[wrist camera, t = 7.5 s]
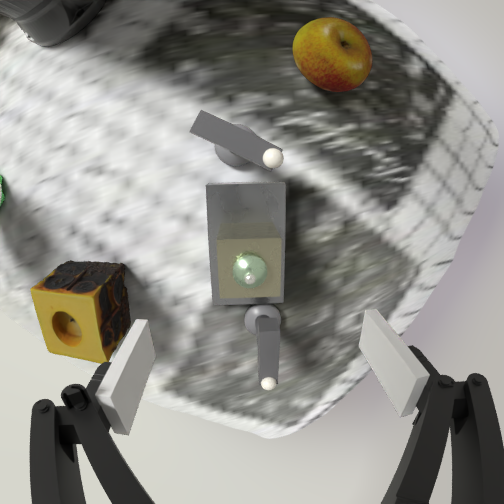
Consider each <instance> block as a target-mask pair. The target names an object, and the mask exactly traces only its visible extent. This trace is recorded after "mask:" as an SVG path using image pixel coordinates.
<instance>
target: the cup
mask: <svg viewBox="0 0 504 504" xmlns="http://www.w3.org/2000/svg"><path fill="white" fill-rule="evenodd" d="M1 183H2V177H1V176H0V206H1V204H2V203H3V201H4V199H5V196H4V194H3V193H2V188H1Z"/></svg>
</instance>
